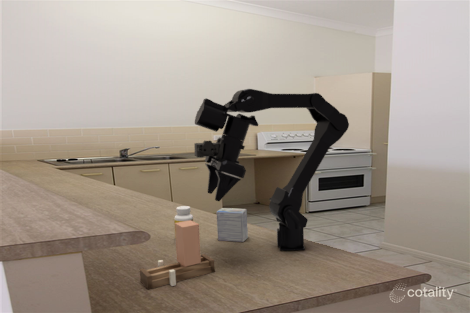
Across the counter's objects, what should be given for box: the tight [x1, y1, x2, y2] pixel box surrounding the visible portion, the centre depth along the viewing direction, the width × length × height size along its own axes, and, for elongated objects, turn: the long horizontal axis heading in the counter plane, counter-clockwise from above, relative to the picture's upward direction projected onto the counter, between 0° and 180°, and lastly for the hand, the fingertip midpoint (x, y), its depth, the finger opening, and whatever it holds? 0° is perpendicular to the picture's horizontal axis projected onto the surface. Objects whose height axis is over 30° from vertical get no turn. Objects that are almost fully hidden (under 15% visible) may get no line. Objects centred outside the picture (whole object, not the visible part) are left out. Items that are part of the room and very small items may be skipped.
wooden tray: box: [139, 253, 216, 290], centre depth 92 cm, size 16×5×3 cm, turn 121°
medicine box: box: [216, 207, 249, 243], centre depth 118 cm, size 8×4×9 cm, turn 71°
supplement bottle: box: [173, 205, 194, 242], centre depth 118 cm, size 5×5×10 cm
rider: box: [174, 220, 202, 267], centre depth 93 cm, size 4×4×10 cm
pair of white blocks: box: [157, 259, 177, 287], centre depth 91 cm, size 1×8×3 cm, turn 31°
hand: (213, 196), depth 102 cm, fingers open, 9 cm apart
